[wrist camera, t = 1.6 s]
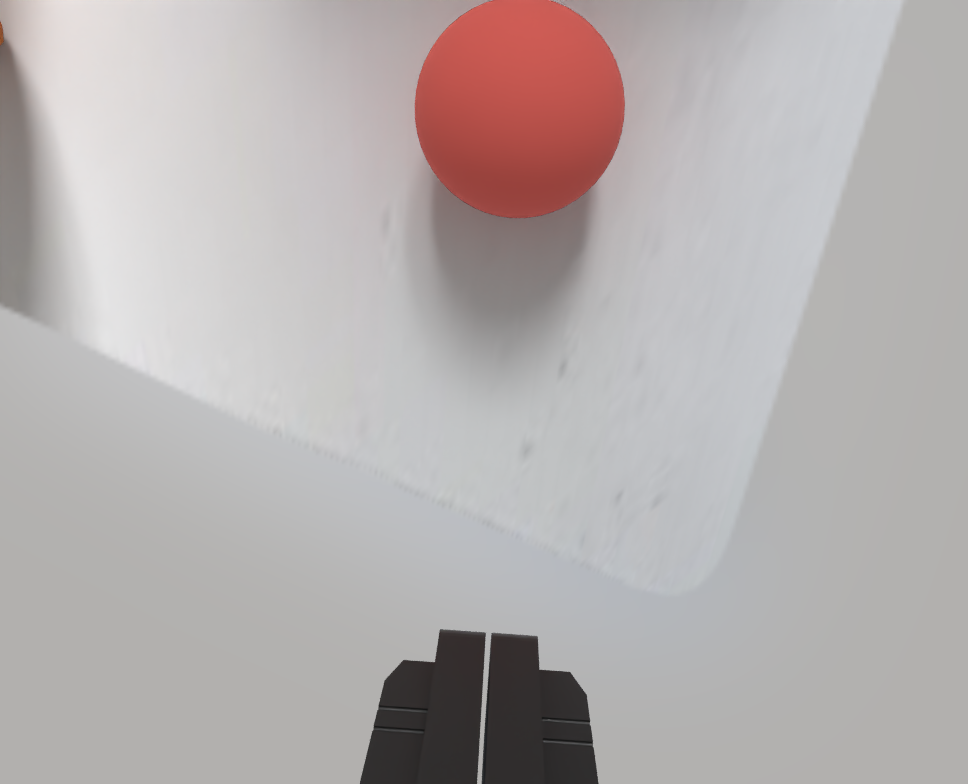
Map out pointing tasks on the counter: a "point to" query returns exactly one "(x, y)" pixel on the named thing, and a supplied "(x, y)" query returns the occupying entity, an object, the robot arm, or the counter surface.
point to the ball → (519, 107)
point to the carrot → (1, 34)
